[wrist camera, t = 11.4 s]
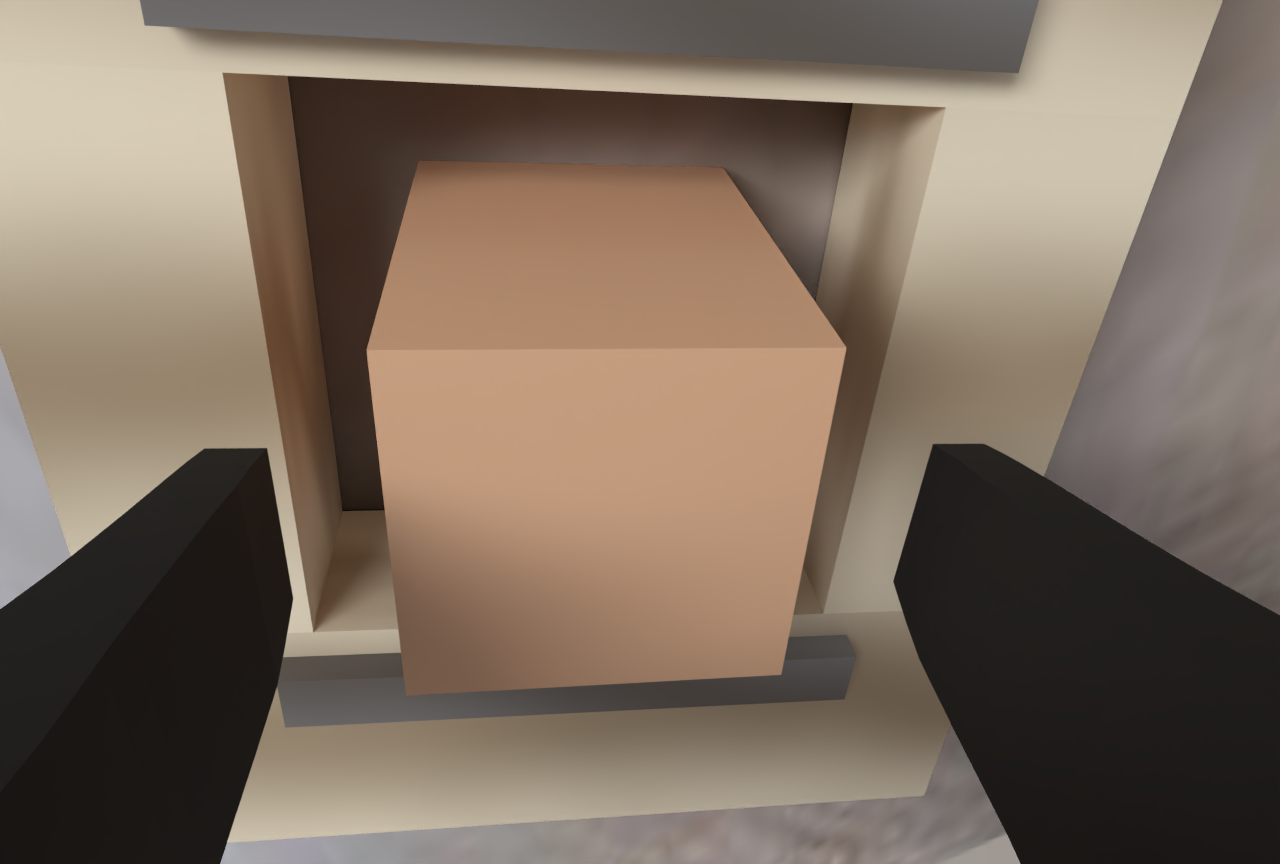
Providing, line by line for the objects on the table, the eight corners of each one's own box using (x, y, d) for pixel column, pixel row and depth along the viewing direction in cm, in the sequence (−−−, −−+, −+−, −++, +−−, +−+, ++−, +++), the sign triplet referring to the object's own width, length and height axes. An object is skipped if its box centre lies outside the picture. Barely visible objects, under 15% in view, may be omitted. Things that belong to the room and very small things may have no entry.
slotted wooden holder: (872, 679, 20) (934, 818, 18) (214, 710, 18) (159, 873, 16) (1184, -372, 11) (1433, -453, 8) (-111, -548, 9) (-411, -738, 6)
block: (695, 419, 16) (780, 674, 11) (437, 423, 16) (406, 695, 11) (721, 166, 14) (846, 348, 9) (418, 160, 13) (366, 350, 8)
